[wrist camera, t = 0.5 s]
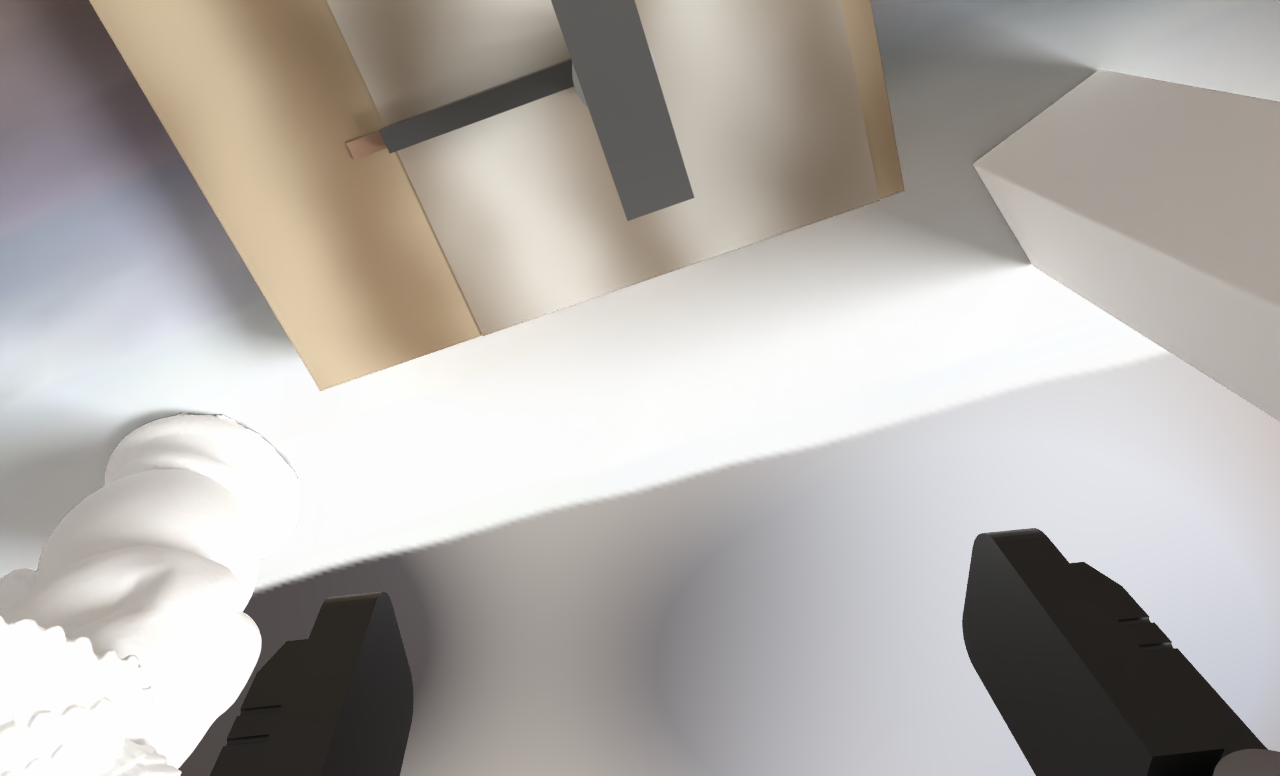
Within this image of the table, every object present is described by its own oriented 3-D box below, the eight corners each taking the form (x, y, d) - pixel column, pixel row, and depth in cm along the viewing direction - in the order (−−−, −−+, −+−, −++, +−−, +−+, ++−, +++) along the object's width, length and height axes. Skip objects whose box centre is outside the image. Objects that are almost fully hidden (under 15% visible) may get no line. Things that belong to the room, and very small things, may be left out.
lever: (612, -52, 26) (630, -63, 18) (668, 132, 29) (705, 194, 21) (347, 49, 27) (250, 80, 19) (426, 218, 29) (372, 310, 21)
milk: (969, 163, 34) (1490, 410, 15) (1100, 66, 33) (1870, 196, 13) (1032, 268, 37) (1554, 602, 17) (1157, 182, 35) (1882, 438, 16)
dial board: (763, -372, 26) (795, -429, 22) (869, 168, 34) (905, 191, 30) (93, -100, 28) (21, -111, 24) (345, 349, 36) (319, 392, 32)
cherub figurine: (80, 530, 39) (-424, 1075, 20) (98, 303, 34) (-553, 730, 15) (333, 588, 42) (109, 1124, 22) (385, 383, 37) (154, 842, 17)
